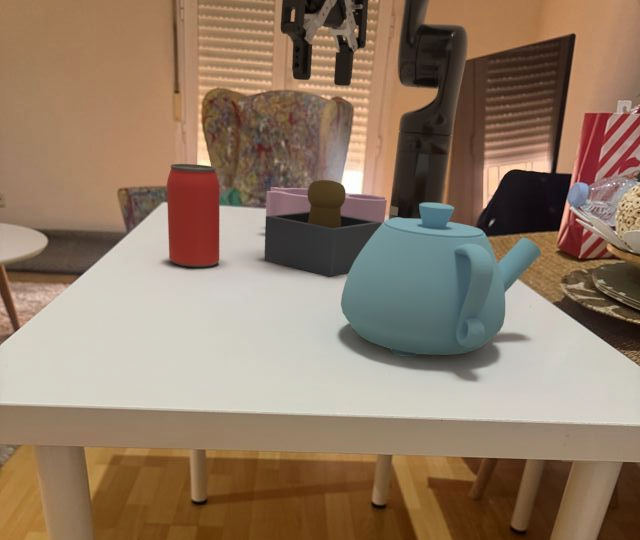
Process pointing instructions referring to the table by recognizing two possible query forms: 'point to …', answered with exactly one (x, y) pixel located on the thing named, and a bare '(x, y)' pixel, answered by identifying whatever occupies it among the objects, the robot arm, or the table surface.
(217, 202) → the beer can
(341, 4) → the robot arm
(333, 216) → the cork
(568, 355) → the table surface
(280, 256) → the caddy
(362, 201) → the pink elongated piece
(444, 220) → the teapot
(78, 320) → the table surface
